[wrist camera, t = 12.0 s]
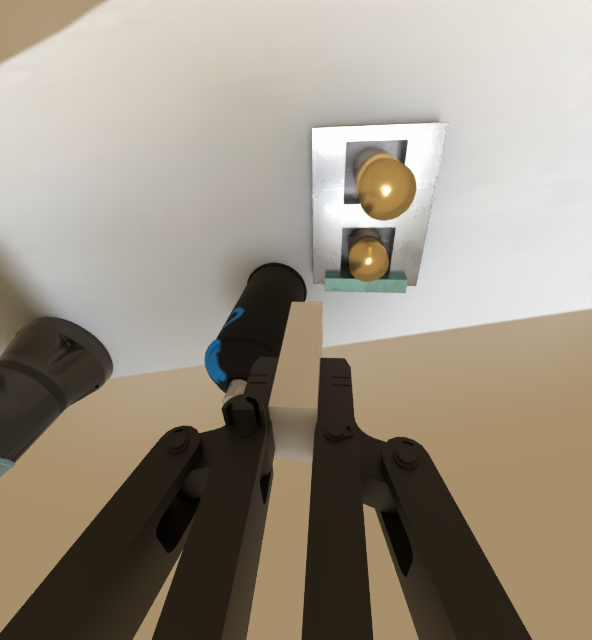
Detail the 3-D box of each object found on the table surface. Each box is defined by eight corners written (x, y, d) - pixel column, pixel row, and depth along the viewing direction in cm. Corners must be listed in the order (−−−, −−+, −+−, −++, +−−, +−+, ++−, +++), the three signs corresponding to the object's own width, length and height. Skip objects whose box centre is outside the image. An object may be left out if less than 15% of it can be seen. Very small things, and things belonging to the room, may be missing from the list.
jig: (314, 273, 39) (310, 296, 34) (314, 127, 31) (308, 128, 25) (411, 275, 38) (422, 299, 33) (439, 122, 29) (460, 122, 24)
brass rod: (351, 190, 33) (356, 220, 23) (354, 148, 31) (361, 161, 21) (389, 190, 33) (410, 221, 23) (395, 147, 31) (421, 160, 21)
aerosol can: (312, 269, 39) (291, 379, 23) (300, 321, 44) (276, 444, 27) (249, 256, 39) (183, 356, 23) (245, 309, 44) (186, 424, 27)
